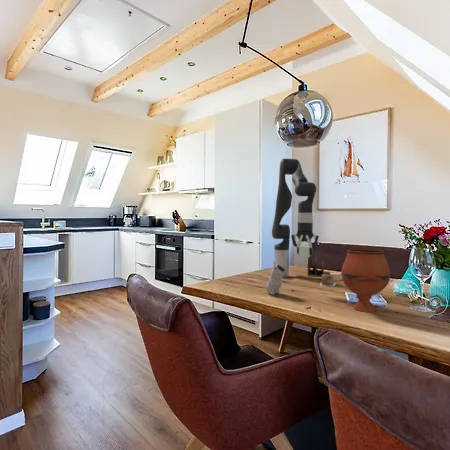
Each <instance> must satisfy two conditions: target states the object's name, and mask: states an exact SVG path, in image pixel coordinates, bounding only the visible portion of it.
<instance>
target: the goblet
mask: <svg viewBox="0 0 450 450" xmlns="http://www.w3.org/2000/svg"><path fill="white" fill-rule="evenodd" d="M344 259H345V260H344V262H343V265H342V266H341V271H340V274H341V279H342V282H343V284H344V285H345V287H347V289H348V290H349V291H350V292H351V293H353V294H355V295H356V299H357V301H356V303H355V304H354V305H353V308H352V309H354V310H355V309H356V311H358V310H359V312H362V311H364V312H365V313H373V312H375V311H376V308H375V305H374V304H373V303H372V302H371V301H370V300H371V299H372V296H374V295H376V294H379V293H380V292H382V291H383V290H384V289H385V288H387V286H388V284H389V282H390V279H391V270H390V266H389V264H388V263H389V262H388V261H387V259H386V256H385V252H384V251H383V250H381V249H372V248H359V247H358V248H349V249H347V253H346V257H345V258H344Z"/></svg>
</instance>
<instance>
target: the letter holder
mask: <svg viewBox="0 0 450 450" xmlns="http://www.w3.org/2000/svg"><path fill="white" fill-rule="evenodd" d="M317 261H318V257H317V256H316V257H315V260H314V266H313V269H311V256H310V257H307V277H312V278H313V277H315V278H318V277H319V278H322V274H325V273H324V272H325V271H324V270H325V269H324V260H322V261H321V262H322V263H321V265H322V266H321V267H322V269H321V270H320V269H317V267H318V266H317V265H318V263H317Z"/></svg>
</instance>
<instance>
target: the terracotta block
mask: <svg viewBox="0 0 450 450" xmlns="http://www.w3.org/2000/svg"><path fill="white" fill-rule="evenodd" d="M329 274H332V275H334V281H337V282H338V281H341V279H342V276H341V273H339V272H330V273H329Z"/></svg>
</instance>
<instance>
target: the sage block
mask: <svg viewBox="0 0 450 450" xmlns="http://www.w3.org/2000/svg"><path fill="white" fill-rule="evenodd" d="M309 248H310V246H309V245H300V247H299V255H298V257H299V258H308V257H310V258H311V256H310V255H309Z"/></svg>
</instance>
